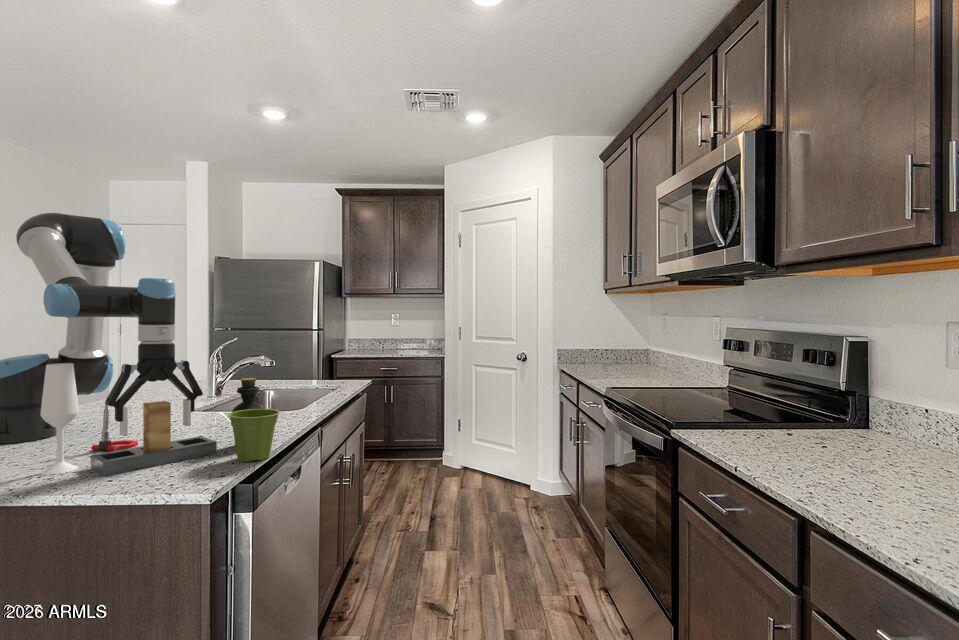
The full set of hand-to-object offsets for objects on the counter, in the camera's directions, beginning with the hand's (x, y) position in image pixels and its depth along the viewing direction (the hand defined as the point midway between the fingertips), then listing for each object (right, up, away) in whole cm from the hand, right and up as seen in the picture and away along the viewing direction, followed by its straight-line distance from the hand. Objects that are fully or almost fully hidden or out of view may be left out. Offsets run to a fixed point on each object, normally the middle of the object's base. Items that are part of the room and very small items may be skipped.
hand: (156, 430), depth 123 cm
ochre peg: (0, -7, 0) cm, 7 cm away
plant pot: (+23, -8, +2) cm, 24 cm away
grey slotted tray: (0, -7, 0) cm, 7 cm away
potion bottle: (+16, -7, +14) cm, 23 cm away
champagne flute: (-17, -8, -8) cm, 20 cm away
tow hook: (-18, -7, +12) cm, 23 cm away
